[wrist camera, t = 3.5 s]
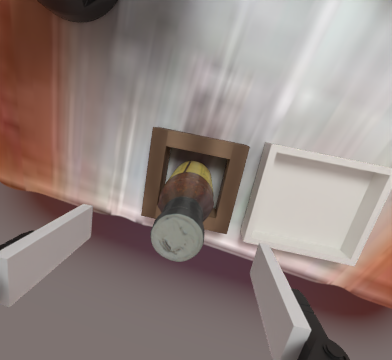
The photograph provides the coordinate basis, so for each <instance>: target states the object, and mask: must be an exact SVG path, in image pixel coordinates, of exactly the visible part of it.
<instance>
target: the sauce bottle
mask: <svg viewBox="0 0 392 360" xmlns="http://www.w3.org/2000/svg"><path fill="white" fill-rule="evenodd" d="M213 206H214V201H213V188H212V180H211V174H210V172H209V170H208V169H207V168H206V166H205V165H204V164H202V163H200V162H197V161H187V162H185V163H183V164H181V165H180V166H178V167H177V169H176V170H175V171H174V173H173V174H172V176H171V177H170V178H169V180H168V181H167V182H166V184H165V186H164V187H163V190H162V191H161V194H160V197H159V202H158V208H159V209H160V211H161V214H160V215H159V216H158V217H157V218H156V220H155V222H154V224H153V227H152V230H151V242H152V245H153V247H154V249H155V250H156V251H157V252H158V253H159V254H160V255H161V256H163V257H164V258H167V259H169V260H171V261H177V262H180V261H186V260H188V259H190V258H192V257H194V256H196V254H197V253H198V252H199V251H200V249H201V248H202V245H203V242H204V225H203V222H204V221H205V220H206V219H207V217H208V216H209V214H210V212H211V211H212V209H213Z"/></svg>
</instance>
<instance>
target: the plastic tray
mask: <svg viewBox="0 0 392 360" xmlns="http://www.w3.org/2000/svg"><path fill="white" fill-rule="evenodd" d="M391 189H392V168H389V167H385V166H380V165H375V164H370V163H365V162H360V161H355V160H350V159H345V158H340V157H335V156H331V155H326V154H321V153H316V152H311V151H306V150H301V149H296V148H291V147H286V146H281V145H276V144H271V143H266V142H265V146H264V150H263V153H262V157H261V160H260V164H259V167H258V171H257V174H256V178H255V181H254V185H253V188H252V192H251V195H250V199H249V202H248V206H247V209H246V213H245V217H244V220H243V224H242V227H241V231H240V232H241V236H242V239H243V242H246V243H250V244H255V245H259V243H263V244H267V245H270V247H271V248H273V249H278V250H282V251H287V252H291V253H296V254H300V255H305V256H310V257H314V258H319V259H323V260H328V261H332V262H337V263H342V264H346V265H351V266H355V264H356V262H357V260H358V258H359V256H360V254H361V252H362V250H363V247H364V245H365V243H366V241H367V239H368V237H369V235H370V233H371V231H372V229H373V227H374V224H375V222H376V220H377V218H378V216H379V214H380V212H381V210H382V208H383V206H384V204H385V201H386V199H387V197H388V195H389V193H390V191H391Z"/></svg>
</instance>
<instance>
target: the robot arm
mask: <svg viewBox="0 0 392 360" xmlns="http://www.w3.org/2000/svg"><path fill="white" fill-rule="evenodd" d="M38 1H39V2H40V3H41V4H42V5H44V6H45V7H46V8H48V9H49V10H50V11H52V12H53V13H55V14H56V15H58V16H59V17H61V18H64V19H66V20H69V21H73V22H88V21H92V20H95V19H97V18H99V17H101V16H103V15H104V14H106V13H107V12H108V11H109V10H110V9H111V8H112V7H113V6H114V4H115V3H116V2H117V0H38ZM92 211H93V206H90V205H86V204H83V205H81V206H79V207H77V208H76V209H74V210H72V211H70V212H68V213H66V214H65V215H63V216H61V217H59V218H57V219H56V220H54V221H52V222H51V223H49V224H47V225H45V226H43V227H42V228H40V229H38V230H36V231H29V232H26V233H23V234H21V235H19V236H17V237H15V238H13V240H9V241H7V242H6V243H5V244H2V245H0V305H4V306H8V307H10V306H11V305H12V304H14V303H15V302H16V301H17V300H18V299H19V298H21V297H22V296H23V295H24V294H25V293H26V292H27V291H29V290H30V289H31V288H32V287H33V286H35V285H36V284H37V283H38V282H39V281H40V280H41V279H43V278H44V277H45V276H46V275H47V274H48V273H49V272H51V271H52V270H53V269H54V268H55V267H57V266H58V265H59V264H60V263H61V262H62V261H63V260H65V259H66V258H67V257H68V256H69V255H70V254H72V253H73V252H74V251H75V250H76V249H77V248H79V247H80V246H81V245H82V244H83V243H84V242H85V241H87V240H88V239H89V238H90V237H91V225H92ZM250 275H251V279H252V283H253V287H254V291H255V295H256V299H257V303H258V306H259V310H260V314H261V318H262V322H263V326H264V329H265V333H266V337H267V341H268V345H269V348H270V353H271V356H272V360H350V359H349V357H348V355H347V354H346V353H345V352H344V350H343V349H342V348H341V347H340V346H338V345H337V344H336V343H335V342H333V341H331V340H330V339H328V337H327V335H326V333H325V332H324V330H323V328H322V326H321V324H320V323H319V321H318V319H317V317H316V315H314V312H313V310H312V308H311V307H310V305H309V303H308V301H307V299H306V298H305V297H304V295H303V294H302V293H301V292H300V291H299V290H296V289H292V288H290V286H289V284H288V282H287V280H286V278H285V276H284V274H283V272H282V270H281V268H280V266H279V264H278V262H277V259H276V257H275V255H274V253H273V251H272V249H271V247H270V245H267V244H263V243H259V245H258V248H257V252H256V255H255V258H254V261H253V265H252V268H251V271H250Z"/></svg>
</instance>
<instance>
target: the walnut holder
mask: <svg viewBox="0 0 392 360" xmlns="http://www.w3.org/2000/svg"><path fill="white" fill-rule="evenodd" d="M171 147H173V148H178V149H183V150H188V151H193V152H197V153H202V154H207V155H212V156H217V157H222V158H226V159H227V163H226V167H225V171H224V175H223V179H222V184H221V188H220V192H219V196H218V200H217V204H216V209H215V208H213V209H212V211H211V212H210V214H209V216H208V217H207V219H206V220H205V221H204V222H203V225H204V229H205V230H210V231H214V232H219V233H224V234H227V231H228V227H229V223H230V220H231V216H232V212H233V208H234V205H235V201H236V197H237V193H238V189H239V186H240V182H241V178H242V174H243V171H244V167H245V163H246V159H247V155H248V152H249V148H250V147H249V146H247V145H244V144H239V143H234V142H229V141H224V140H219V139H214V138H209V137H205V136H200V135H195V134H190V133H185V132H180V131H175V130H170V129H165V128H160V127H153V131H152V138H151V146H150V153H149V161H148V168H147V176H146V183H145V191H144V198H143V206H142V213H141V216H146V217H150V218H155V219H156V218H157V217H158V216H159V215H160V214H161V211H160V209H159V208H158V202H159V197H160V194H161V191H162V190H163V187H164V186H165V181H166V175H167V169H168V163H169V156H170V150H171Z"/></svg>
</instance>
